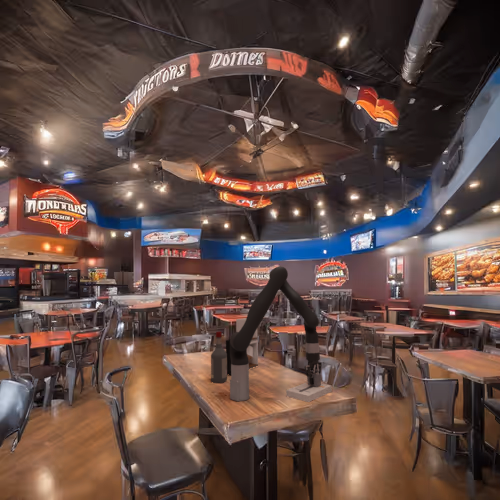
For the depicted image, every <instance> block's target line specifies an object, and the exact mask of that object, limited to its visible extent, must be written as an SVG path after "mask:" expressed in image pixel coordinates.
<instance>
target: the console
mask: <svg viewBox="0 0 500 500" xmlns="http://www.w3.org/2000/svg"><path fill="white" fill-rule="evenodd" d="M332 392H333V389H332V385H331V384H325V383H321V385H320V386H318V387H316V386H312V385H308V382H307V381H306V382H304V383H301V384H299V385H296V386H292V387H290V388H288V389H286V391H285V394H286V397H288V398H293V399H295V400H299V401H302V402H303V401H304V402H305V403H310V402H313V401H315V400H316V399H319V398H321V397H323V396H325V395H328V394H330V393H332ZM312 400H313V401H312Z"/></svg>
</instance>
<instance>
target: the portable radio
mask: <svg viewBox="0 0 500 500" xmlns="http://www.w3.org/2000/svg"><path fill="white" fill-rule="evenodd" d="M230 338H231V336H228V339H226V340H225V351H226V353H227V374H229V375H228V376H231V358H230Z"/></svg>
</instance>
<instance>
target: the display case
mask: <svg viewBox="0 0 500 500" xmlns="http://www.w3.org/2000/svg"><path fill="white" fill-rule="evenodd" d="M246 318H247V317H244V318H237V319H236V322H235V323H236V332H239V331H240V330H241V328H242V327H243V325H244V323H245V321H246ZM258 341H259V338H258V328H257V329H256V331H255V333H254V336H253V338H252V340H251V342H250V344H249V346H248V348H247V356H248V360H249V369H250V368H253V367H256V366H258V367H259V348H258V347H259V346H258V344H259V342H258Z"/></svg>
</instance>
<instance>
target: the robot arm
mask: <svg viewBox="0 0 500 500" xmlns="http://www.w3.org/2000/svg"><path fill="white" fill-rule="evenodd" d="M288 275H289V273H288V270H287V268H286V267H284V266H281V265H280V266H277V267H275V268H274V267H273V269H271V270H270V272H269V276H268V277H269V279H268V281H267V283H266V285H265V286H264V288H263V289H262V290H260V292H259V293H258V295H257V296H256V297H255V298H254V300H253V302H252V303H251V305H250V307H249V310H248V312H247V316H246V317H245V318H246V321H245V323H244V325H243V327H242V328H241V330H240V331H239V332H237V331H235V332H234V333H232V334H231V336H230V358H231V375H230V376H231V377H230V379H229V399H230V400H232V401H235V402H243V401H247V400H249V399H250V376H249V375H250V372H249V371H250V370H249V360H248V356H247V348H248V346H249V344H250V342H251V340H252V338H253V336H254V333H255V331H256V329H257V330H258V328H259V326H260V325H261V323H262V322H263V320H264V318H265V316H266V314H267V313H268V311H269V309H270V308H271V305H272V304H273V302H274V300H275V298H276V296H277V294H278V292H279V291H281V292H282V293H283V295H284V296H285V298H287V300H288V301H289V303H290V304H291V305H292V307H293V308H294V309H295V311H296V313H298V314H299V315H300V316H301V318H302V319H303V329H304V332H305V333H304V334H305V360H306V361H307V365H305V366H304V370H305V375H306V378H307V377H309V380H310V384H311V385H314V378H313V376H314V373H320V374H322V364H323V363H322V362H320V360H321V356H320V355H321V354H320V340H319V334H318V332H317V327H318V326H319V324H320V320H319V318H318V316H317V315H316V314H315V312H314V311H313V310H312V309H311V308H310V307H309V305H308V304H307V302H306V301H305V300H304V299H303V297H302V296H301V295H300V294H299V293H298V291H296V290H295V289H294V288H293V287H292V286H291V285H290V283H289V282H288V280H287V279H288ZM308 373H309V374H308ZM311 373H312V375H311Z"/></svg>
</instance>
